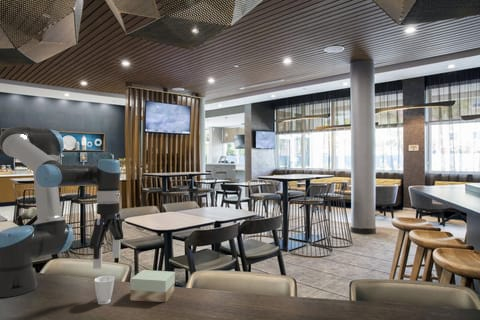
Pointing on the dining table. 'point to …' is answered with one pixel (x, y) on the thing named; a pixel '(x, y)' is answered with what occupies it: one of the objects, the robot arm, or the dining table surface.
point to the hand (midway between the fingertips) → (107, 262)
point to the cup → (104, 288)
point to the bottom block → (151, 295)
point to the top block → (153, 281)
